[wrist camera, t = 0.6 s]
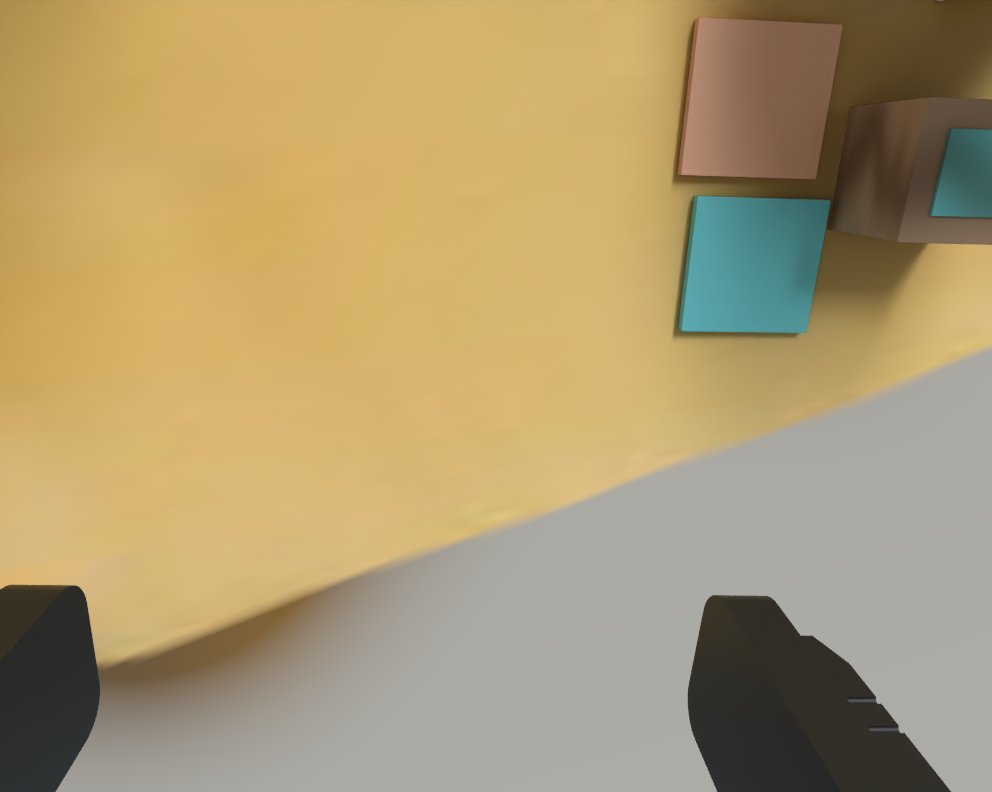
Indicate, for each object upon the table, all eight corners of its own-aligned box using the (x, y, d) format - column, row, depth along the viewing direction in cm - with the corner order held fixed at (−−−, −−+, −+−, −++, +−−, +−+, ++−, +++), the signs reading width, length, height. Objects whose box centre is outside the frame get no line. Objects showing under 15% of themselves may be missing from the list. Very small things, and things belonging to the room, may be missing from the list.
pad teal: (694, 195, 35) (698, 196, 35) (824, 199, 36) (830, 200, 35) (677, 328, 37) (681, 330, 37) (800, 330, 38) (806, 333, 37)
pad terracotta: (695, 19, 32) (699, 17, 32) (836, 26, 33) (843, 24, 32) (677, 174, 35) (681, 174, 34) (809, 178, 35) (815, 179, 35)
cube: (850, 106, 34) (932, 96, 29) (963, 111, 35) (1066, 102, 29) (827, 229, 36) (899, 243, 31) (934, 232, 37) (1026, 246, 31)
